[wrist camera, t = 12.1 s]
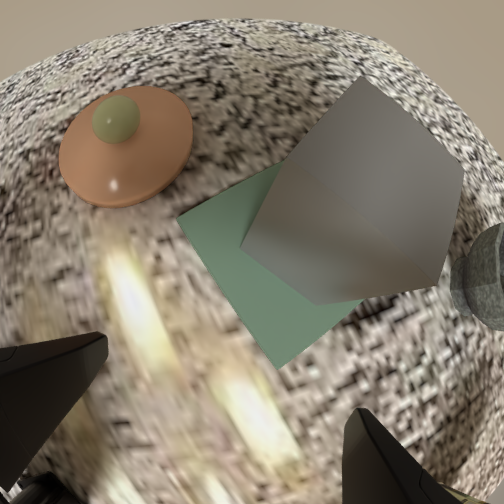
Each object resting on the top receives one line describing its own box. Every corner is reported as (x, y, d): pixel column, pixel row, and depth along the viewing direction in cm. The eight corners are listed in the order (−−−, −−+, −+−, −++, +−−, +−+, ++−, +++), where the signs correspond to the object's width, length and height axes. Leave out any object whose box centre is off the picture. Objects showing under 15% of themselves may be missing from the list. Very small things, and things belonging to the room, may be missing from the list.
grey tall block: (315, 305, 18) (436, 285, 8) (239, 248, 18) (286, 156, 8) (357, 235, 20) (464, 169, 9) (291, 182, 20) (360, 75, 9)
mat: (276, 368, 17) (277, 370, 17) (176, 220, 18) (176, 218, 18) (399, 263, 20) (401, 262, 20) (316, 146, 22) (318, 143, 21)
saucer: (90, 236, 17) (57, 210, 12) (55, 138, 18) (32, 103, 13) (219, 160, 20) (224, 117, 15) (159, 81, 21) (155, 40, 16)
